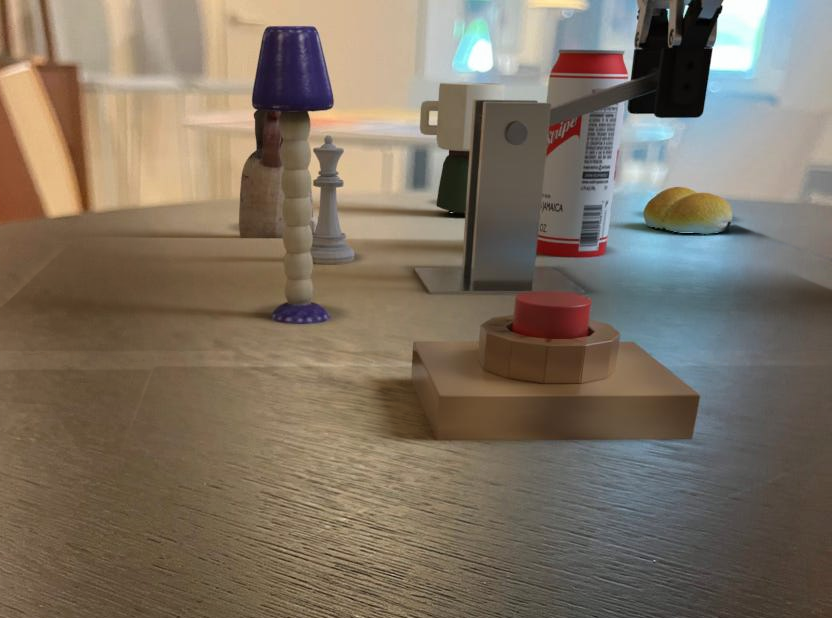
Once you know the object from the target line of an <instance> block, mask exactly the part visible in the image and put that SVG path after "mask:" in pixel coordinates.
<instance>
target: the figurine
mask: <svg viewBox="0 0 832 618" xmlns="http://www.w3.org/2000/svg"><path fill="white" fill-rule="evenodd" d="M280 113H281V111H263V110H257V109H255V111H254V113H253V119H254V137H255V145H256V147H255V150H254V152H252V153H251V154H249V156H248V157H247V159H246V161H245V162H244V164H243V167H242V172H241V176H240V179H241V180H240V187H239V188H240V191H239V211H238V228H239V229H238V230H239V237H240V239H281V240H283V231H284V228H285V225H286V223H285V221H284V219H283V215H282V205H283V201H284V198H285V195H284V193H283V190H282V184H281V179H282V173H283V171H284V167H283V165H282V162H281V157H280V149H281V144H282V142H283V138H282V136H281V133H280V129H279V118H280ZM312 191H313V190H312V189H311V191H310V194H309V198H310V200H311V204H312V218H311V221H310V223H309V225H310V227H311V230H312V233H314V232H315V230H316V226H317V223H316V219H315V212H314V211H315V210H314V207H313V206H314V204H313V202H314V201H313V192H312Z"/></svg>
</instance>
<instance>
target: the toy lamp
mask: <svg viewBox="0 0 832 618" xmlns="http://www.w3.org/2000/svg"><path fill="white" fill-rule="evenodd" d="M324 53H325V52H324V50H323V45H322V41H321V37H320V33H319V31H318V28H316V27H315V26H312V25H269V26H266V28H265V29H264V31H263V33H262V37H261V43H260V48H259V53H258V58H257V59H258V60H257V65H256V70H255V77H254V82H253V87H252V95H251V106H252V108H253V109H255V110H263V111H281V113H280V118H279V129H280V133H281V136H282V138H283V142H282V144H281V149H280V157H281V162H282V165H283V167H284V171H283V173H282V179H281V184H282V190H283V193H284V195H285V198H284V201H283V205H282V215H283V219H284V221H285V223H286V225H285V228H284V231H283V239H282V242H283V248H284V249H285V251H286V252H285V254H284V258H283V269H284V270H283V271H284V273H285V275H286V277H287V278H286V280H285V283H284V295H285V299H286V301H285V302H284V303H282V304H280V305H278V306H277V307H276V308H275V309H274V310H273V311H272V312H271V314H270V316H269V319H270V320H271V321H274V322H277V323H283V324H289V325H290V324H291V325H313V324H320V323H324V322H327V321H329V320H330V319H331V315H330V314H329V312H328V311H327V310H326V309H325V308H324V307H323V306H321V305H320V304H318V303H316V302H313V301H312V300H313V296H314V285H313V282H312V279H311V276H312V273H313V270H314V269H313V268H314V263H313V260H312V256H311V254H310V249H311V246H312V240H313V235H312V230H311V227H310V225H309V223H310V221H311V218H312V204H311V200H310V198H309V194H310V191H311V190H312V185H313V181H312V174H311V172H310V170H309V166H310V164H311V159H312V150H311V146H310V142H309V140H308V138H309V136H310V132H311V117H310V115H309V112H322V111H328V110H331V109H333V107H334V105H335V100H334V99H335V98H334V94H333V89H332V84H331V79H330V76H329V71H328V66H327V62H326V57H325V54H324Z"/></svg>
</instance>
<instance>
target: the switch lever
mask: <svg viewBox="0 0 832 618" xmlns="http://www.w3.org/2000/svg"><path fill="white" fill-rule="evenodd" d="M658 73H659V68H652V69H650V70H649V71H648V72H647V74H646V75H645V76H642V77H640V78H637V79H634V80H631V79H630V80H628V82H625V83H622V84H619V85H616V86H613V87H610V88H607V89H604V90H601V91H598V92H595V93H592V94H589V95H586V96H583V97H580V98H577V99H574V100H571V101H568V102H565V103H562V104H559V105H556V106H553V107H551V112H550V122H549V126H552V125H555V124H558V123H561V122H564V121H567V120H570V119H573V118H576V117H579V116H582V115H585V114H588V113H591V112H594V111H597V110H600V109H603V108H606V107H609V106H612V105H615V104H618V103H621V102H624V101H625V102H627V101H628V100H629V99H632V98H635V97H638V96H641V95H644V94H647V93H650V92H653V91H656V89H657V81H658Z"/></svg>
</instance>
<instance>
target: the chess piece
mask: <svg viewBox="0 0 832 618" xmlns="http://www.w3.org/2000/svg"><path fill="white" fill-rule="evenodd" d="M323 139H324V141H323V142H324V143H323V144H322V145H321V146H320V147H313V150H312V152H313V153H314V155H315V156H316V159H317V160H318V164H319V168H320V169H319V171H318V176H317V177H316V179H313V180H312V186H313V187H316V188H320V193H319V194H320V195H319V208H318V215H317V216H318V217H317V221H316V230H315V232H314V233H312V235H313V240H312V246H311V249H310V254H311V256H312V260H313V264H316V265H343V264H348V263H352V262H353V261H354V260H355V256H356V255H355V254H356V253H355V252H354V250H353V248H351V246H350V245H348V244H347V242H346V238H347V236H346V233H344V232H342V228H341V225H340V220H339V213H338V202H337V188H343V187H344V180H343V179H341V177H340V176H338V175H339V171H337V168H338V163H339V161H340V159H341V158H342V156H343V153H345V150H344V149H345V148H343V147H337V146H336V145H335V144H334V143H333V142H334V139H333V137H332V136H331V135H329V134H328V135H326V136H325V137H324V138H323Z"/></svg>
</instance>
